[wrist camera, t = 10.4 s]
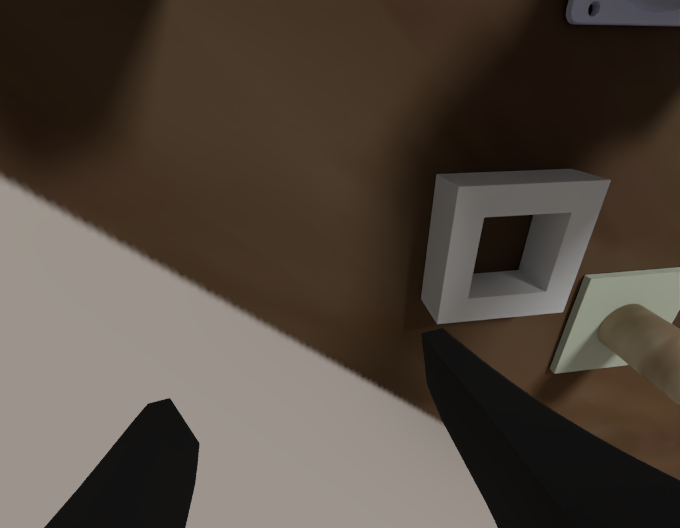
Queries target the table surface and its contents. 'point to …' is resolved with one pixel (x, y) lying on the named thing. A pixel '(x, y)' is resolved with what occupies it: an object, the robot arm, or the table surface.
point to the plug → (645, 345)
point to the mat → (599, 301)
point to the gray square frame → (540, 249)
